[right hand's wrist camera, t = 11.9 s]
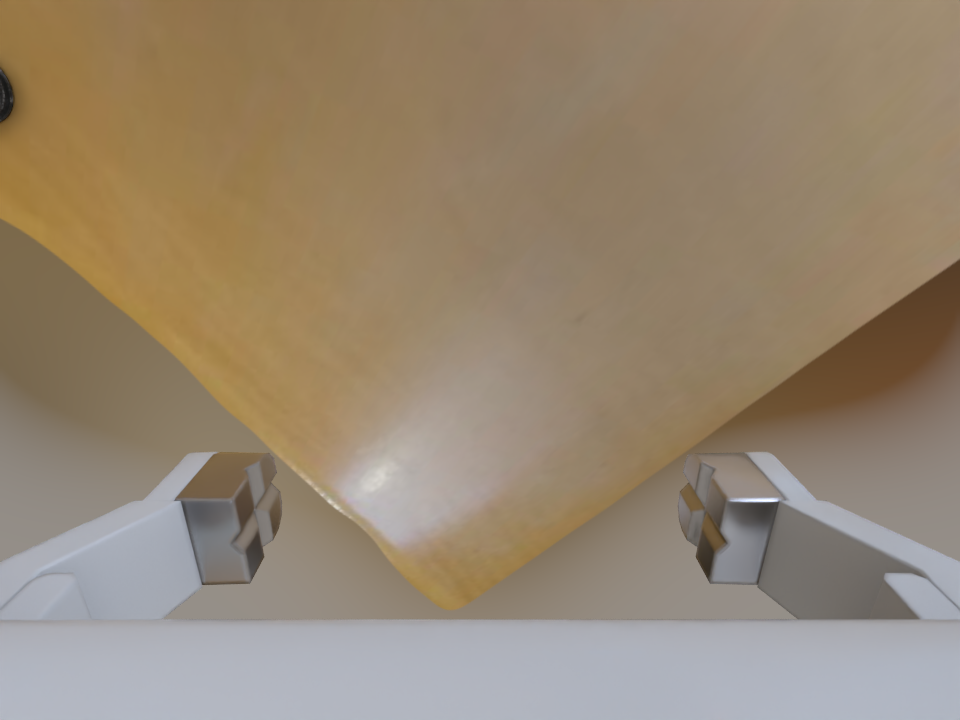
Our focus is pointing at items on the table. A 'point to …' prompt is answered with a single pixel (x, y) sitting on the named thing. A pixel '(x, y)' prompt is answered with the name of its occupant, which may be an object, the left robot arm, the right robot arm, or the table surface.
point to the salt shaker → (5, 97)
